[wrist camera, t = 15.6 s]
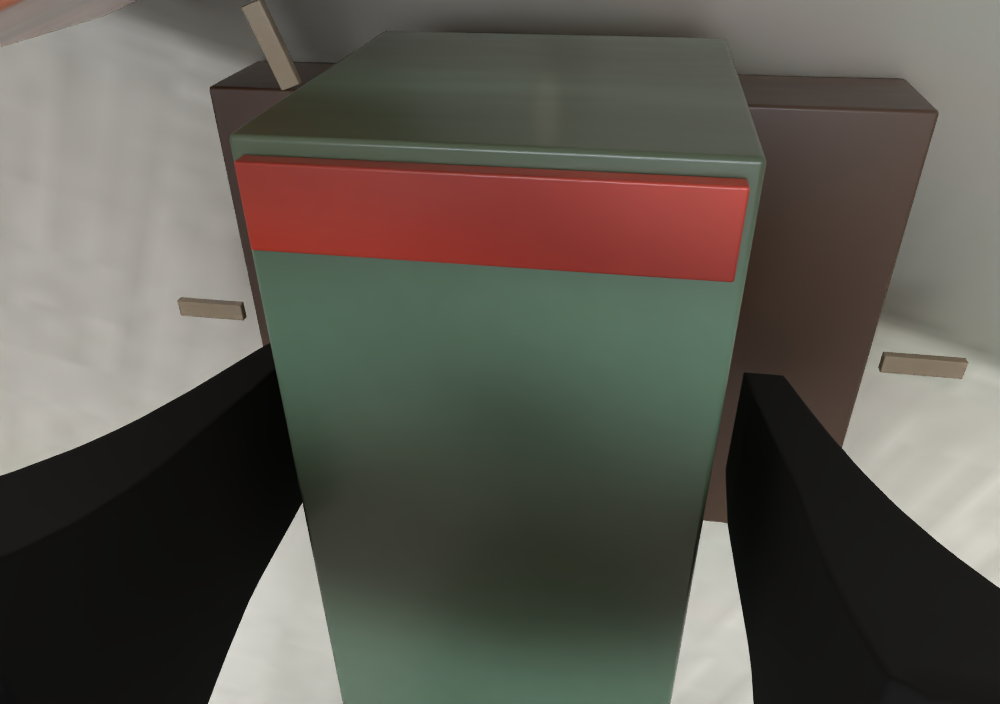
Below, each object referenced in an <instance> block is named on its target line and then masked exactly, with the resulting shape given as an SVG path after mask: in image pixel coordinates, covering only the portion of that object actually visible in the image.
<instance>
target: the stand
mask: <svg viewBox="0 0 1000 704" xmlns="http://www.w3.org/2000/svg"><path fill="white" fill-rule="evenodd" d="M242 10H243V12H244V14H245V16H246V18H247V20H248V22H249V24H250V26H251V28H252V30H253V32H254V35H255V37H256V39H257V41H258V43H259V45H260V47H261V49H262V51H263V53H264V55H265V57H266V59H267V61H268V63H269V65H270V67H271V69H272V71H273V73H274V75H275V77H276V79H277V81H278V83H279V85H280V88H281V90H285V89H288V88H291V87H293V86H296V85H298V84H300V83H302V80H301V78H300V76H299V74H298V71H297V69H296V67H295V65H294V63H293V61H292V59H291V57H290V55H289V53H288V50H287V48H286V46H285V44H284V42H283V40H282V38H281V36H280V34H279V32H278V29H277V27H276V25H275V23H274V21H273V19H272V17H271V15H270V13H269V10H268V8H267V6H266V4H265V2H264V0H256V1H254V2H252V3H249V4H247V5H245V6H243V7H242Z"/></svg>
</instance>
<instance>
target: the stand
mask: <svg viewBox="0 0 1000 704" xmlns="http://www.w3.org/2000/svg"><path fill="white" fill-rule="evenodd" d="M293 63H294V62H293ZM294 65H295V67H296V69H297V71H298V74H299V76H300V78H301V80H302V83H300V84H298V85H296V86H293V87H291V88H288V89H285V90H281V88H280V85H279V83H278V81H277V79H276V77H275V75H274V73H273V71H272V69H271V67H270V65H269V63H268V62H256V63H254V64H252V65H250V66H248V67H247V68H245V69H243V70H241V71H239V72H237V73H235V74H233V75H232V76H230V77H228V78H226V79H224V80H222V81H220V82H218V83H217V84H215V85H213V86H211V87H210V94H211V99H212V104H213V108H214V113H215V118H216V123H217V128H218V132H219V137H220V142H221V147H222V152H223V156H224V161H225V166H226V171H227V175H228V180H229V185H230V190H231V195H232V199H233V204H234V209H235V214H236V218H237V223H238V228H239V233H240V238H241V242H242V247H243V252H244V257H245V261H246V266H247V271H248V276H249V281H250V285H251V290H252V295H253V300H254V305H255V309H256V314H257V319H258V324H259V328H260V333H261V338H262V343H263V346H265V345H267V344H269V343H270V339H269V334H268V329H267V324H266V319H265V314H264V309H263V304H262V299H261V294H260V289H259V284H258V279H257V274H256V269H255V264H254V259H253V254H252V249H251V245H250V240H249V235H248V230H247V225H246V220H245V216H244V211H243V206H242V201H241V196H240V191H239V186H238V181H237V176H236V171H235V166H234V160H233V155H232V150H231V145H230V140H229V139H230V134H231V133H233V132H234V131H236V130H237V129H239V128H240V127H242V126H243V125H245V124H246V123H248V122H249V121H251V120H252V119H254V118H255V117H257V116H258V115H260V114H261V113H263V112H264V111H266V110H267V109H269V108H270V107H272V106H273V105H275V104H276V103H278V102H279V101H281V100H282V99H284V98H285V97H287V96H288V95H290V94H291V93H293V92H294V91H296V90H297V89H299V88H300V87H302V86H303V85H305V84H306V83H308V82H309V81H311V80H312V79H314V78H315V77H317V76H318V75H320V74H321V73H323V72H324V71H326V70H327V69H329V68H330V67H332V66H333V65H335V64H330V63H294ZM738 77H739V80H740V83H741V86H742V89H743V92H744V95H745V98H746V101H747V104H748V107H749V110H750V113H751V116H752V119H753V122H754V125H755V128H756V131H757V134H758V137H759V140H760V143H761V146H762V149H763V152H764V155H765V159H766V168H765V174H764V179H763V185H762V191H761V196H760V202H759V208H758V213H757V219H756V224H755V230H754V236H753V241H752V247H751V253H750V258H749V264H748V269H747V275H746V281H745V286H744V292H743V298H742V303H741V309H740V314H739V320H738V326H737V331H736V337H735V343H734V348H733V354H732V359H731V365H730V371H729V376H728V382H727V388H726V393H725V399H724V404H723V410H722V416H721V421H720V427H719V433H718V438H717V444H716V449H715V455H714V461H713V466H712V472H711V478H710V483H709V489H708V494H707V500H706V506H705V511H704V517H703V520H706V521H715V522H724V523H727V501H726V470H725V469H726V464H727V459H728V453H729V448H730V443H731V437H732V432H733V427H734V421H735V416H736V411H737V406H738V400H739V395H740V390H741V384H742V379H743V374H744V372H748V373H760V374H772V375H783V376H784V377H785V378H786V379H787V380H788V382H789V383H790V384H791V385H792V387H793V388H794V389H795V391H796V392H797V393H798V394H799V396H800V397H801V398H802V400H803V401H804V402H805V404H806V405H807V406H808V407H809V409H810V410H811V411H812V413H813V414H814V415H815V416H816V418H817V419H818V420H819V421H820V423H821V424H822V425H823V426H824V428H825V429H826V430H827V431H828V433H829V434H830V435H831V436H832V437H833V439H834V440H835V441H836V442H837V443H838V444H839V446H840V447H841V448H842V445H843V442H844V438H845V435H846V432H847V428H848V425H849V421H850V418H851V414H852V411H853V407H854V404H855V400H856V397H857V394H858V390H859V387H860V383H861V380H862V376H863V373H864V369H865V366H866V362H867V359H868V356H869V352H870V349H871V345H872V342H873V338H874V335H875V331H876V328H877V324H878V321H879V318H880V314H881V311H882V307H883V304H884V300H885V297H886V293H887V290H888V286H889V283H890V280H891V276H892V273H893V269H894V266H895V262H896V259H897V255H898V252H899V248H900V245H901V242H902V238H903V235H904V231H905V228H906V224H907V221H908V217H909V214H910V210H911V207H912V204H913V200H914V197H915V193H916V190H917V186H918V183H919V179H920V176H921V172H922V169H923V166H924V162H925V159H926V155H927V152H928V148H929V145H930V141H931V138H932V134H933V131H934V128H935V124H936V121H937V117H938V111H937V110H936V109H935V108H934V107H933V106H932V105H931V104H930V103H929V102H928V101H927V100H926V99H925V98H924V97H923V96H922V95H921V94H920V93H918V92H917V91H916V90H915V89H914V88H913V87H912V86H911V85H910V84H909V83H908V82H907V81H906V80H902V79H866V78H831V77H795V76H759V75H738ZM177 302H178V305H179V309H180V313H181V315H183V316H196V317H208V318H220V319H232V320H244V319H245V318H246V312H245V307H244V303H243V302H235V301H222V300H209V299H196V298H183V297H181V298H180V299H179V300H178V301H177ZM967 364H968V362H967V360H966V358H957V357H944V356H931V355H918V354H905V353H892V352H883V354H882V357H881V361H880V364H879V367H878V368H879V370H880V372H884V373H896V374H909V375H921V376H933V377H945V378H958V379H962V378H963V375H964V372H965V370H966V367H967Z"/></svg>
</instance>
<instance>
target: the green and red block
mask: <svg viewBox="0 0 1000 704" xmlns="http://www.w3.org/2000/svg"><path fill="white" fill-rule="evenodd" d="M229 140H230V145H231V150H232V155H233V160H234V166H235V171H236V176H237V181H238V186H239V191H240V196H241V201H242V206H243V211H244V216H245V220H246V225H247V230H248V235H249V240H250V245H251V249H252V254H253V259H254V264H255V269H256V274H257V279H258V284H259V289H260V294H261V299H262V304H263V309H264V314H265V319H266V324H267V329H268V334H269V339H270V344H271V349H272V353H273V358H274V363H275V368H276V373H277V378H278V383H279V388H280V393H281V398H282V403H283V408H284V413H285V418H286V423H287V428H288V433H289V438H290V443H291V448H292V453H293V457H294V462H295V467H296V472H297V477H298V482H299V487H300V492H301V497H302V502H303V507H304V512H305V517H306V522H307V527H308V532H309V537H310V542H311V547H312V552H313V557H314V562H315V566H316V571H317V576H318V581H319V586H320V591H321V596H322V601H323V606H324V611H325V616H326V621H327V626H328V631H329V636H330V641H331V646H332V651H333V656H334V661H335V666H336V670H337V675H338V680H339V685H340V690H341V695H342V700H343V704H670V703H671V697H672V691H673V686H674V680H675V674H676V669H677V663H678V658H679V652H680V646H681V641H682V635H683V629H684V624H685V618H686V613H687V607H688V601H689V596H690V590H691V584H692V579H693V573H694V568H695V562H696V556H697V551H698V545H699V539H700V534H701V528H702V523H703V517H704V511H705V506H706V500H707V494H708V489H709V483H710V478H711V472H712V466H713V461H714V455H715V449H716V444H717V438H718V433H719V427H720V421H721V416H722V410H723V404H724V399H725V393H726V388H727V382H728V376H729V371H730V365H731V359H732V354H733V348H734V343H735V337H736V331H737V326H738V320H739V314H740V309H741V303H742V298H743V292H744V286H745V281H746V275H747V269H748V264H749V258H750V253H751V247H752V241H753V236H754V230H755V224H756V219H757V213H758V208H759V202H760V196H761V191H762V185H763V179H764V174H765V168H766V159H765V155H764V152H763V149H762V146H761V143H760V140H759V137H758V134H757V131H756V128H755V125H754V122H753V119H752V116H751V113H750V110H749V107H748V104H747V101H746V98H745V95H744V92H743V89H742V86H741V83H740V80H739V77H738V74H737V71H736V68H735V65H734V62H733V59H732V56H731V53H730V50H729V47H728V44H727V41H726V40H725V39H723V38H678V37H633V36H588V35H542V34H497V33H451V32H406V31H385V32H383V33H381V34H380V35H378V36H377V37H375V38H374V39H372V40H371V41H369V42H368V43H366V44H365V45H363V46H362V47H360V48H359V49H357V50H356V51H354V52H353V53H351V54H350V55H348V56H347V57H345V58H344V59H342V60H341V61H339V62H338V63H336V64H335V65H333V66H332V67H330V68H329V69H327V70H326V71H324V72H323V73H321V74H320V75H318V76H317V77H315V78H314V79H312V80H311V81H309V82H308V83H306V84H305V85H303V86H302V87H300V88H299V89H297V90H296V91H294V92H293V93H291V94H290V95H288V96H287V97H285V98H284V99H282V100H281V101H279V102H278V103H276V104H275V105H273V106H272V107H270V108H269V109H267V110H266V111H264V112H263V113H261V114H260V115H258V116H257V117H255V118H254V119H252V120H251V121H249V122H248V123H246V124H245V125H243V126H242V127H240V128H239V129H237V130H236V131H234V132H233V133H231V134H230V139H229Z"/></svg>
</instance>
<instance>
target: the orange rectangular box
mask: <svg viewBox="0 0 1000 704" xmlns="http://www.w3.org/2000/svg"><path fill="white" fill-rule="evenodd" d="M134 1H137V0H0V47H3V46H6V45H10V44H13V43H16V42H20V41H23V40H26V39H29V38H33V37H36V36H39V35H43V34H46V33H49V32H52V31H56V30H59V29H62V28H66V27H69V26H72V25H75V24H79V23H82V22H85V21H89V20H92V19H95V18H98V17H102V16H104V15H106V14H109V13H111V12H113V11H115V10H117V9H119V8H122V7H124V6H126V5H128V4H130V3H132V2H134Z"/></svg>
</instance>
